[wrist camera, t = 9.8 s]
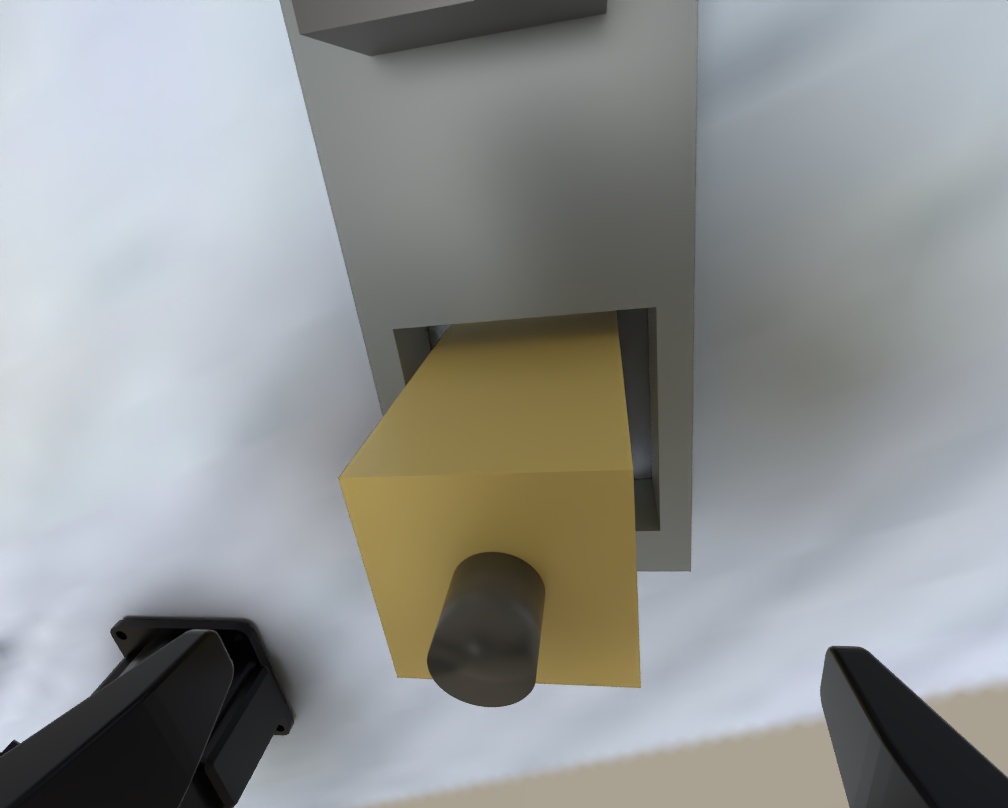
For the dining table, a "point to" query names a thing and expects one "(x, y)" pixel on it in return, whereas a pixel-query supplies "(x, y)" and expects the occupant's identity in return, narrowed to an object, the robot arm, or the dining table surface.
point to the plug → (505, 512)
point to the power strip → (516, 185)
